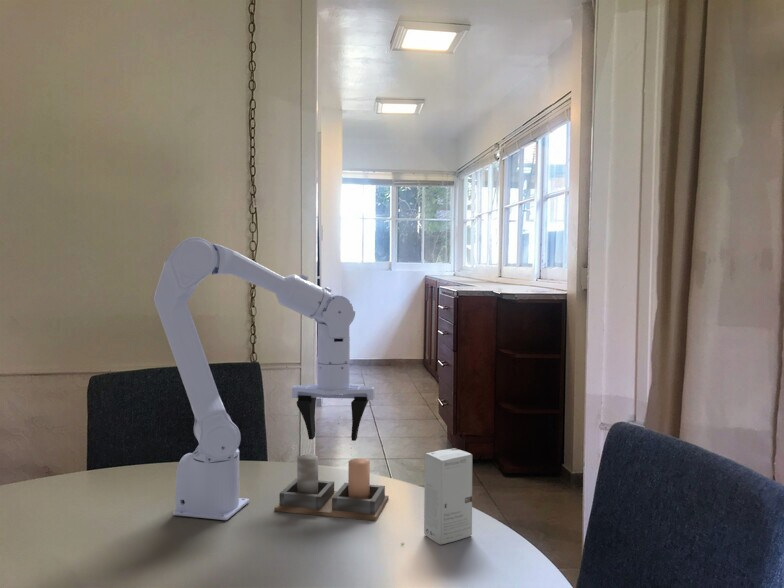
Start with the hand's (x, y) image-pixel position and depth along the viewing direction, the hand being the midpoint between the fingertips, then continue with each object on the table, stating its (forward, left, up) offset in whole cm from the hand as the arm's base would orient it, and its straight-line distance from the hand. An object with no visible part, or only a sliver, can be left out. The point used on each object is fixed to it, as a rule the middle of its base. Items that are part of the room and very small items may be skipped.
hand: (333, 438), depth 100 cm
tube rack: (+2, -6, -9) cm, 11 cm away
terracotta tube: (+7, -6, -9) cm, 12 cm away
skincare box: (+22, -13, -10) cm, 27 cm away
